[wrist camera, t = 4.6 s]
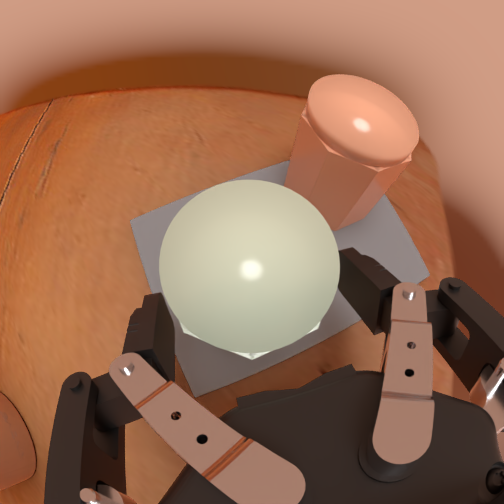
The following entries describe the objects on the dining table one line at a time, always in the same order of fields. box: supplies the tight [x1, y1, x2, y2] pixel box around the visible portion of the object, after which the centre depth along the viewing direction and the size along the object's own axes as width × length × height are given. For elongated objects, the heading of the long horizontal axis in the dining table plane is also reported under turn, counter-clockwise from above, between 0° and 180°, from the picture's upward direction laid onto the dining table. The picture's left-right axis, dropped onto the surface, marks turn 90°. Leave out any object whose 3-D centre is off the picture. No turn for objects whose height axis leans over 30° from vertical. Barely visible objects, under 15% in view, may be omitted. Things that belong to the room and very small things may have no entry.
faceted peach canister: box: [284, 74, 419, 231], centre depth 17 cm, size 6×6×8 cm
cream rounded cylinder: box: [159, 180, 340, 360], centre depth 14 cm, size 6×6×8 cm
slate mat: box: [130, 160, 430, 397], centre depth 19 cm, size 19×13×1 cm
